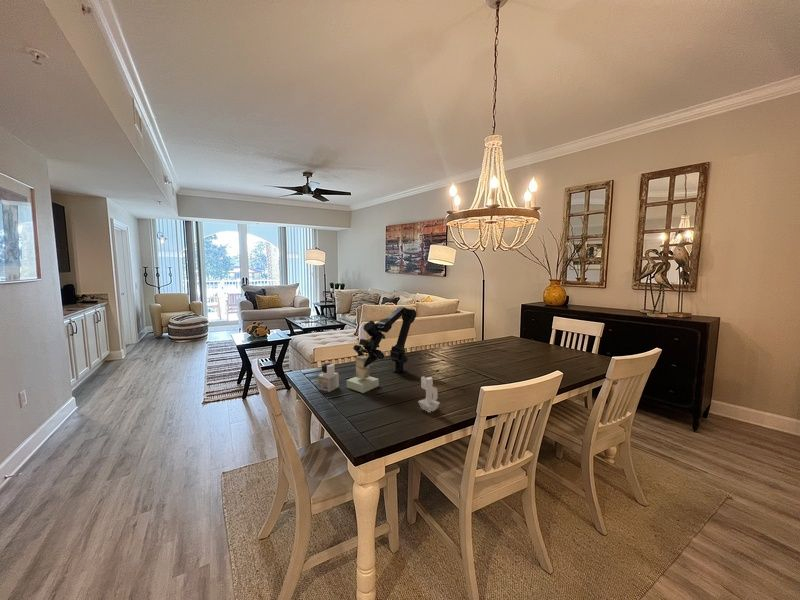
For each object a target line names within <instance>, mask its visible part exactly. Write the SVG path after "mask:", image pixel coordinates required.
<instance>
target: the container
mask: <svg viewBox="0 0 800 600" xmlns="http://www.w3.org/2000/svg"><path fill="white" fill-rule="evenodd" d="M335 367H336V366H335V364H334V363H331V362H328V363H327V362H326V363H323V364H322V365H321V373H320V374H318V375H317V388H318V390H320V391H324V392H329V393H331V391H334V390H336V389H338V388H339V387H340V385H339V383H340V382H339V381H340V379H339V377H340V375H339V372H335V369H336V368H335Z"/></svg>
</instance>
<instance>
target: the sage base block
mask: <svg viewBox="0 0 800 600" xmlns="http://www.w3.org/2000/svg"><path fill="white" fill-rule="evenodd" d="M379 381H380V380H379V378H377V377H373V376H370V375H369V377H368V378H365V379H360V378H356V376H354V377H351V378H349V379H346V388H348V389H350V390H354V391H356V392H360V393H362V394H364V393H366V392H369V391H370V390H373V389H376V388H378V387H379V386H380V385H379V383H380V382H379Z"/></svg>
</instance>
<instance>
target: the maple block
mask: <svg viewBox="0 0 800 600" xmlns="http://www.w3.org/2000/svg"><path fill="white" fill-rule="evenodd" d="M364 355H365V354H364ZM364 355H361V356H358V355H357V356H356V357H355V377H356V378H360V379H365V378H368V377H369V376H370V364H369V365H368V366H366V367H364V365H365V362H366V361H367V359H368V357H369V355H368V356H367V355H365V356H364Z"/></svg>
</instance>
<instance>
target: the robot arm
mask: <svg viewBox="0 0 800 600" xmlns="http://www.w3.org/2000/svg"><path fill="white" fill-rule="evenodd" d="M416 317H417V311H416V310H415V309H414V308H413V309H412V308H407V307H405V306H398V307H397V308H396V309H395V310H394V311H393V312H391V313H390V315H388V316H387V317H386V318H383V319H381V320H378V321H377V322H376V323H375V321H374V320H370V321H368V322H366V323H365V324H364V325H363V331H365V332H366V334H367V335H368V337H370V338H368V339H365V338H360V339H359V343H358V344H355V345H354V346H353V347H352V349H353V350H354V351H355V352H356V353H357V357H358V356H361V355H364V356H366V355H365V354H367V355H368V359H367V361H366V362H365V365H364V367H366V366H368V365H369V366H370V365H371V364H372V363H374V362H375V361H378V360H381V361H383V360H384V359H385V354H384V353H383V351H382V350H380V349H378V348H380V344H381V341H382V339H383V340H385V339H386V336H385V335H386V334H387V333H389V331H391V329H392V326H393V324H395V323H396V322H397V321H398V320H399V319H400V318H401V320H402V323H401V327H400V331H399V334H398V337H397V341H396V344H394V345H392V346H391V349H390V351H389V354H390V355H389V356H390V358H391V361H392V362H394V369H393V370H392V373H398V374H404V373H405V372H406V370H407V369H406V368H405V364H406V363H408V360H409V359H408V357H407V355H405V354H406V348H405V345H406V341H407V338H408V334H409V331H410V327H411V325H412V323H413V322H414V321H415V319H416ZM385 333H386V334H385Z"/></svg>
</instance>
